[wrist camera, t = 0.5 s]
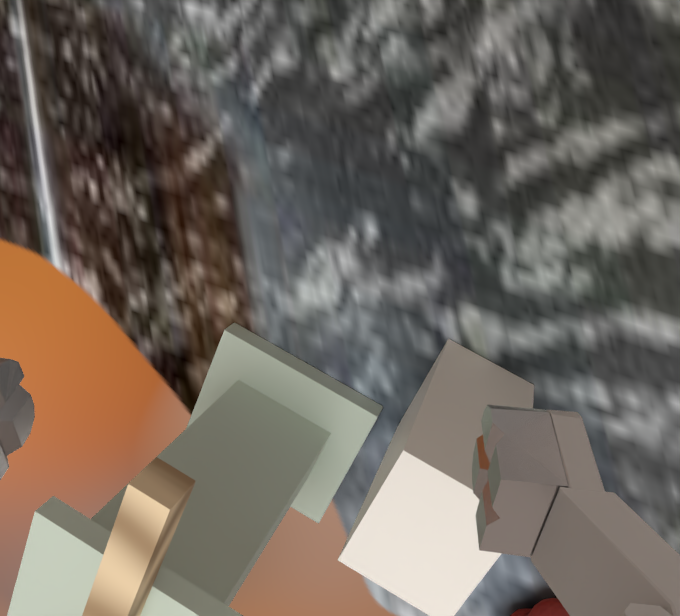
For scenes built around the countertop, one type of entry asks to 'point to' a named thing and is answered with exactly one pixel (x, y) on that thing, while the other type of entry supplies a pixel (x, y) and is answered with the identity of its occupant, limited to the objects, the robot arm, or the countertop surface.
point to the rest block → (433, 487)
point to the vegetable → (544, 609)
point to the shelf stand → (215, 485)
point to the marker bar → (139, 540)
